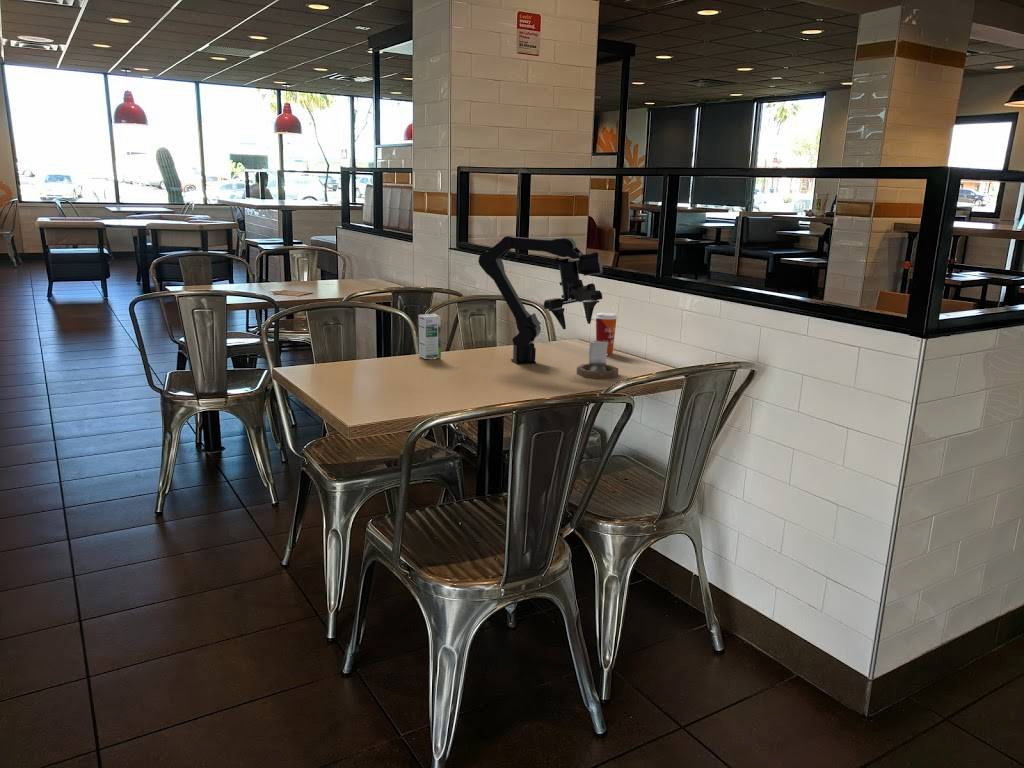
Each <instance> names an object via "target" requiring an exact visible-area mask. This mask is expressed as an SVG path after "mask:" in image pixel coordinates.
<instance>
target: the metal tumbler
mask: <svg viewBox="0 0 1024 768" xmlns="http://www.w3.org/2000/svg"><path fill="white" fill-rule="evenodd" d="M588 343H589V344H588V364H589V365H588V370H590V371H598V372H600V371H606V365H607V360H608V359H607V357H608V355H607V342H605V341H596V340H591V341H589V342H588Z"/></svg>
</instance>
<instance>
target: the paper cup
mask: <svg viewBox="0 0 1024 768" xmlns="http://www.w3.org/2000/svg"><path fill="white" fill-rule="evenodd" d="M617 316H618V315H617V314H616V313H613V312H597V313H596V316H594V318H595V328H596V329H595V341H605V342H607V354H611V355H613V353H614V344H615V335H616V334H615V333H616V324H617V319H618V317H617Z"/></svg>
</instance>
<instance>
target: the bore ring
mask: <svg viewBox="0 0 1024 768" xmlns="http://www.w3.org/2000/svg"><path fill="white" fill-rule="evenodd" d="M588 365H589V363H581V364H580V365H578V366H577V367H576V375H578V376H580V375H581V376H580V377H582V376H583V378H586V379H587V378H589V379H595V380H603V379H614V378H616V377H617V376H618V375H619V367H616V366H614V365H611V364H606V371H600V372H598V371H590V370H588Z"/></svg>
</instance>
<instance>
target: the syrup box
mask: <svg viewBox="0 0 1024 768" xmlns="http://www.w3.org/2000/svg"><path fill="white" fill-rule="evenodd" d="M417 316H418V357H419V356H421V357H423V358H424V359H430V360H435V359H434V358H442V344H441V343H442V341H441V340H442V338H441V336H442V332H441V331H442V330H441V328H442V327H441V326H442V324H441V323H442V321H441V320H442V318H441V315H439V314H436V313H429V314H427V313H426V314H418V315H417ZM424 359H423V360H424Z"/></svg>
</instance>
